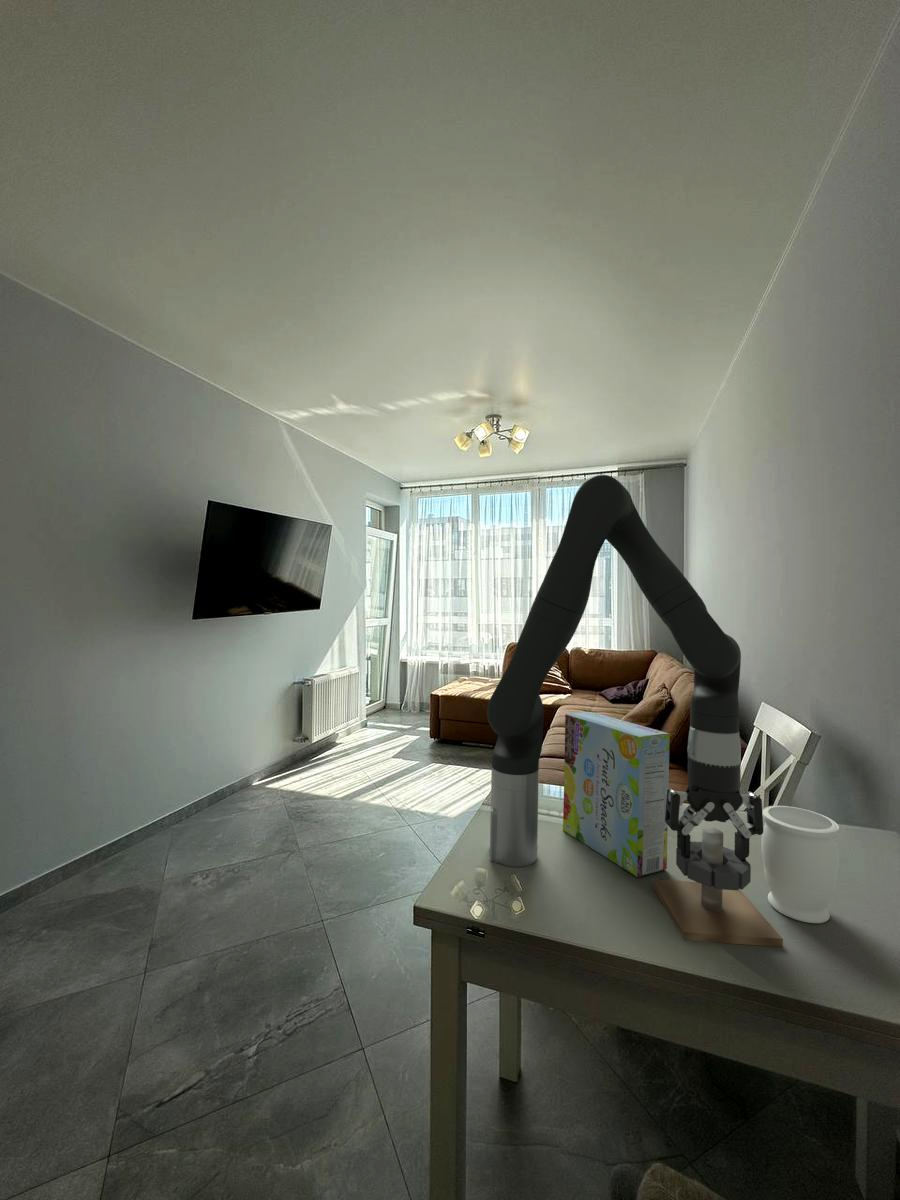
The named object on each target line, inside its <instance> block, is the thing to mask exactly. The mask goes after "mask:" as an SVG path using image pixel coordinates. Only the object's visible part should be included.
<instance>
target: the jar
mask: <svg viewBox="0 0 900 1200" xmlns="http://www.w3.org/2000/svg"><path fill="white" fill-rule="evenodd" d="M762 815H763V821H765V822H764V824H763V834H761V841H760V842H761V844H760V848H761V858H762V862H763V863H762V864H763V871H764V877H765V880H766V883H767V886H768V888H769V890H770V891H769V893H768V895H767V900H768V903H769V905H770V906H771V907H772V908H773V909H775V910H776V911H777V912H779V913H780V914H782V915H784V916H786V917H789V918H790V919H793V920H796V921H799V922H803V923H807V924H808V923H810V924H823V923H826V922H827V921H828V920H829V919H830V917H831V916H830V915H831V914H830V911H829V909H828V906H829V904H830V903H831V901H832V899H833V896H834V893H835V889H836V884H837V881H838V875H839V868H840V867H839V866H840V865H839V864H840V861H839V860H840V857H839V849H838V848H839V847H838V844H837V839H836V836H838V834H839V833H840V827H839V825H838V823H836V822H835V820H834V819H832V818H829V817H827V816H826V815H823V814H821V813H819V812H815V811H812V810H809V809H805V808H800V807H796V806H788V805H769V806H765V807H763V808H762Z"/></svg>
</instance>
